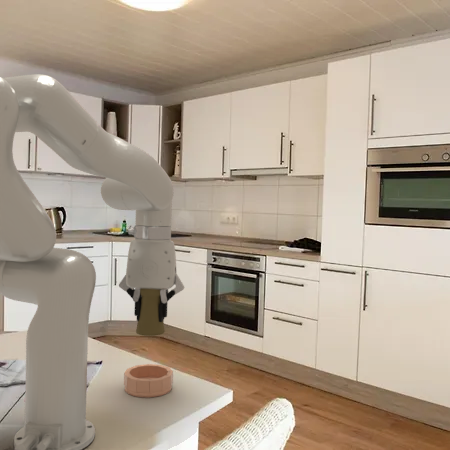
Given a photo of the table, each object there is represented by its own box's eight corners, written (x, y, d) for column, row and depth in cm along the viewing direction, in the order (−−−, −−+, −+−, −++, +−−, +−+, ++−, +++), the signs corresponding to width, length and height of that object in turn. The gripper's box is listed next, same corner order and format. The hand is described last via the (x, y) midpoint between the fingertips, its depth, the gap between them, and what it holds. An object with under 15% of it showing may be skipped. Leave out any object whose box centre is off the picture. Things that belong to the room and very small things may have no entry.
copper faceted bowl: (166, 399, 96) (167, 382, 96) (118, 395, 97) (119, 379, 97) (175, 381, 106) (176, 365, 106) (131, 378, 107) (132, 363, 107)
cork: (130, 332, 100) (131, 281, 100) (147, 326, 106) (149, 277, 105) (153, 337, 97) (154, 284, 97) (170, 331, 103) (171, 280, 102)
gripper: (108, 233, 97) (106, 322, 98) (189, 237, 96) (187, 326, 97) (119, 231, 105) (117, 313, 106) (194, 234, 104) (192, 317, 104)
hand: (150, 319), depth 101 cm, fingers closed on cork, 4 cm apart
